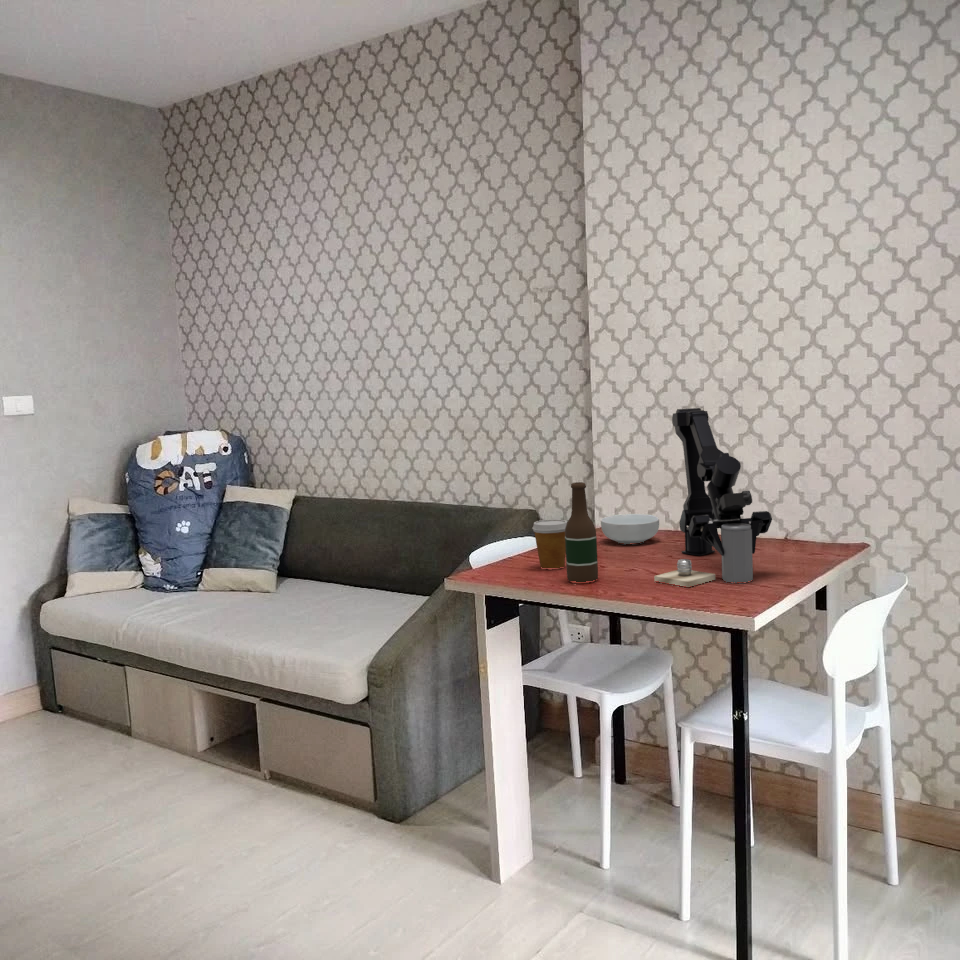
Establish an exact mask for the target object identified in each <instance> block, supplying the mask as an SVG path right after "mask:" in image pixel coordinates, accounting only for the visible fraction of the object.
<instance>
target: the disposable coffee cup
mask: <svg viewBox="0 0 960 960" xmlns="http://www.w3.org/2000/svg"><path fill="white" fill-rule="evenodd" d="M567 522H568V520H566V519H565V520H564V519H542V520H537V521H534V522H533V526H532V530H533V533H534V539H535V542H536V543H535V544H536V549H537V554H538V561H539V566H540V567H542V568H560V567H564V566H565V565H566V547H565V528H566V524H567ZM564 568H565V567H564Z"/></svg>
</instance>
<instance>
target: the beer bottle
mask: <svg viewBox="0 0 960 960" xmlns="http://www.w3.org/2000/svg"><path fill="white" fill-rule="evenodd" d="M570 488H571V513H570V516H569V518H568V520H567V524H566V528H565V547H566V554H565V565H566V577H567V578H568V579H567V580H569V581H576V582H586V581H593V580H596V579H598V580H599V566H598V563H599V562H598V542H597V529H596V527H595V523H594V522H593V520H592V519H591V517H590V516H589V511H588V505H587V496H586V495H587V494H586V488H587V485H586V483H585V482H582V481H581V482H579V481H577V482H572V483H571V485H570ZM569 581H568V582H569Z"/></svg>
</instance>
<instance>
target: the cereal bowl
mask: <svg viewBox="0 0 960 960" xmlns="http://www.w3.org/2000/svg"><path fill="white" fill-rule="evenodd" d="M600 526H601V532H602V533H603V535H604V536H605V537H606V538H608V539H609V540H612V541H615V542H616V543H617V542H618V543H617V544H619V543H624V544H623V545H626V544H630V543H640V542H643V543H645V542H644V541H647V540H650V539H652V538H653V537H654V536H656V534H657V533H658V532H659V529H660V518H659V517H658V516H657V515H653V514H648V513H624V514H623V513H622V514H614V515H610V516H605V517H602V518H601V519H600ZM640 544H641V543H640Z"/></svg>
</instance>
